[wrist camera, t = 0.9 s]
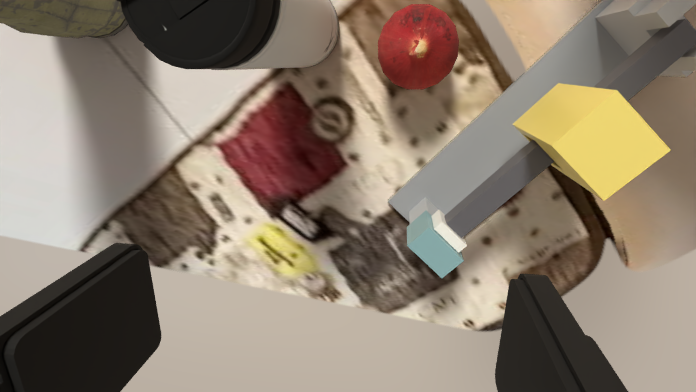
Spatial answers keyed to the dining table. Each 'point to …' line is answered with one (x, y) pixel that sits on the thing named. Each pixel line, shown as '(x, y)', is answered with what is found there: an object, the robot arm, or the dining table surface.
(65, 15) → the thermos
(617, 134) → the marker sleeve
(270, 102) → the dining table surface
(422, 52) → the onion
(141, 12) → the travel mug
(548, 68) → the grey long frame
